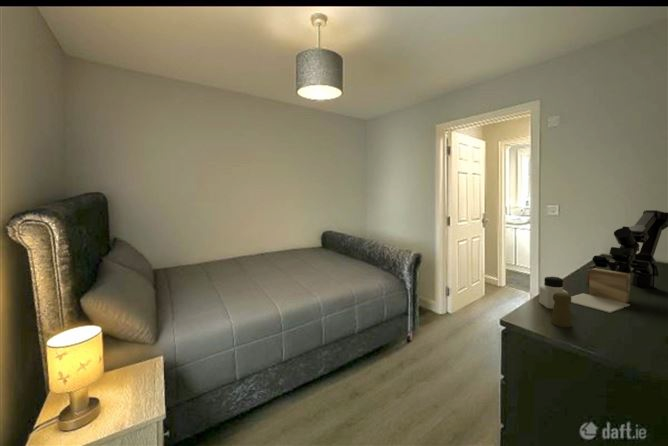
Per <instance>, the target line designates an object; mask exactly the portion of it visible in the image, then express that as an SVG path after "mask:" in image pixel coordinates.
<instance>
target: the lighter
mask: <svg viewBox="0 0 668 446" xmlns="http://www.w3.org/2000/svg"><path fill="white" fill-rule="evenodd" d="M593 268H598V267H597V266H596V265H595V263H594V264H590V265H589V268H588V269H587V270H586V272H587V274H586V275H587V280H586V281H587V282H586V286H589V280H590V269H593Z"/></svg>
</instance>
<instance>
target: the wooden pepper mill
mask: <svg viewBox="0 0 668 446" xmlns="http://www.w3.org/2000/svg"><path fill="white" fill-rule="evenodd" d="M571 297H572V296H571V295H570V294H569V293H568V294H566V293H554V294H553V300H554V301H555V303H554V308H553V309H552V313H551V319H550V323H551V324H552V325H554V326H557V327H559V328H560V327H561V328H572V327H573V321H572V314H571V309H570V307H571V306H570V304H572V303H571Z"/></svg>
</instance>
